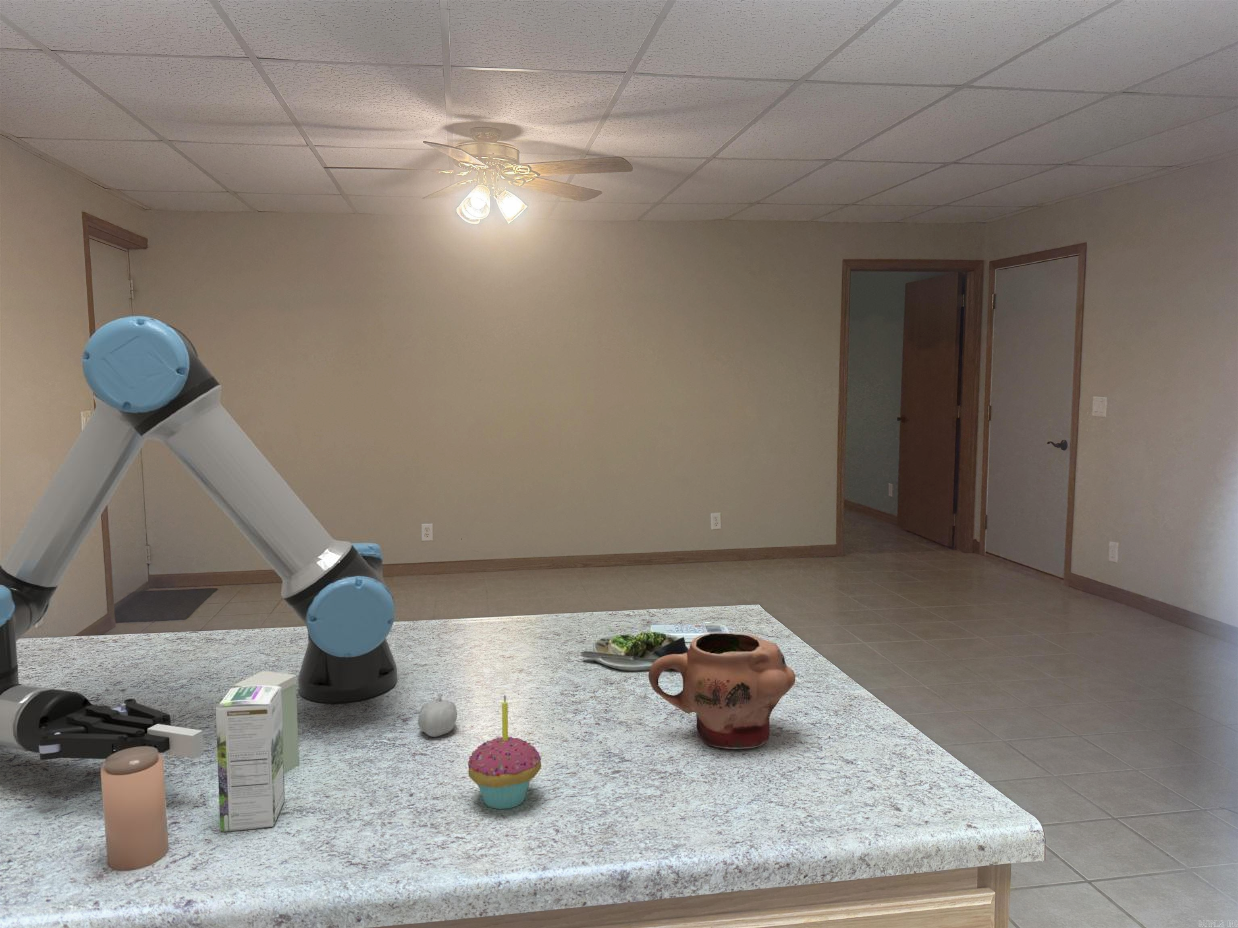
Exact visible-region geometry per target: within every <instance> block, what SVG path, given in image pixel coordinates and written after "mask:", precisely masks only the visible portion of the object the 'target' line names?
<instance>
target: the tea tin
mask: <svg viewBox="0 0 1238 928" xmlns="http://www.w3.org/2000/svg"><path fill="white" fill-rule="evenodd" d="M297 684H298V679H297V675H296V674H290V673H289V674H288V673H283V672H281V673H280V672H275V671H274V672H273V671H266V670H262V671H260V672H257V673H255V674H254V675H252V676H249V677H248V678H246V679H243V680H241V681H239V682H236V683H235V684H233V686H232V688H237V687H244V686H258V685H266V686H280V687H281V700H282V727H283V762H284V773H285V774H286V773H288V772H289V771H290V769H291V770H292V769H293V767H294V768H295V767H297V766H299V765H300V751H299V750H300V748H299V727H298V726H299V725H298V709H297V708H298V707H297V706H298V705H297V701H298V700H297V686H296V685H297ZM296 765H297V766H296ZM287 771H288V772H287Z"/></svg>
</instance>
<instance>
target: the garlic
mask: <svg viewBox="0 0 1238 928" xmlns="http://www.w3.org/2000/svg"><path fill="white" fill-rule="evenodd" d="M442 696H443V694H442V693H438V695H437V699H433V700H431V701H428V702H425V703H424V704H423V705H422V706H421V707H420V711H419V714H418V717H417V718H418V719H417V722H418V727H419V728H420V730H421V731H422V732H424V733H425V734H427V736H429V737H432V738H436V737H440V736H443V735H446V734H447V733H450V731H452V730H453V728H454V727H455V726H456V722H457V718H458V711H457V705H456V704H455V703H454V702H453V701H451V700H444V699H442Z"/></svg>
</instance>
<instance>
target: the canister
mask: <svg viewBox="0 0 1238 928" xmlns="http://www.w3.org/2000/svg"><path fill="white" fill-rule="evenodd" d="M164 769H165V767H164V757H163V755H162V753H158V750H157V749H156V748H154V747H149V746H140V747H133V748H128V749H124V750H121V751H118V752H116V753H114V754H112V755H110V756H109V757H108V758H107V759H104V765H102V766H101V768H100V781H101V795H102V807H103V809H102V810H103V821H104V836H105V850H106V851H105V852H106V860H107V861H106V863H107V867H108V868H110V869H111V870H114V871H119V872H120V871H121V872H126V871H128V872H129V871H134V870H139V869H142V868H145V867H148V866H150V865H152V864H155V863H157V862H158V861H160V860H161V859H163V858H164V857H165V856H166V855H167V854H168V852H169V849H170V848H169V846H170V845H169V832H168V830H169V829H168V828H169V827H168V816H167V814H168V813H167V812H168V811H167V802H166V801H167V800H166V799H167V798H166V785H165V783H166V782H165V770H164Z"/></svg>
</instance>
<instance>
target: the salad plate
mask: <svg viewBox="0 0 1238 928" xmlns="http://www.w3.org/2000/svg"><path fill="white" fill-rule="evenodd" d="M592 648H593V651H588V650H587V651H586V650H585V651H582V652H580V656H581V657H583V658H586V659H589V660H593V661H596V662H598V663H600V664H601V665H604V666H607V667H610V668H613V669H616V670H620V671H627V672H640V671H641V672H642V671H649V670H650V668H651V666H652V664H653V663H654V662H655V661H656V660H657V659H659V658H661V657H663V656H666V655H671V654H684V653H687V652H688V651H689V648H688V647H687V644H686V639H685V637H684V636H682V637H680V638H679V636H676V635H673V634H670V633H669V634H667V633H664V632H662V633H661V632H657V631H647V632H644V631H643V632H640V633H638V634H635V635H634V634H633V635H632V634H631V635H630V634H617V635H612V636H611V635H610V636H609V635H608V636H605V637H601V638H599V639H597V640H596V641H595V642H594V643H593V644H592Z"/></svg>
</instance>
